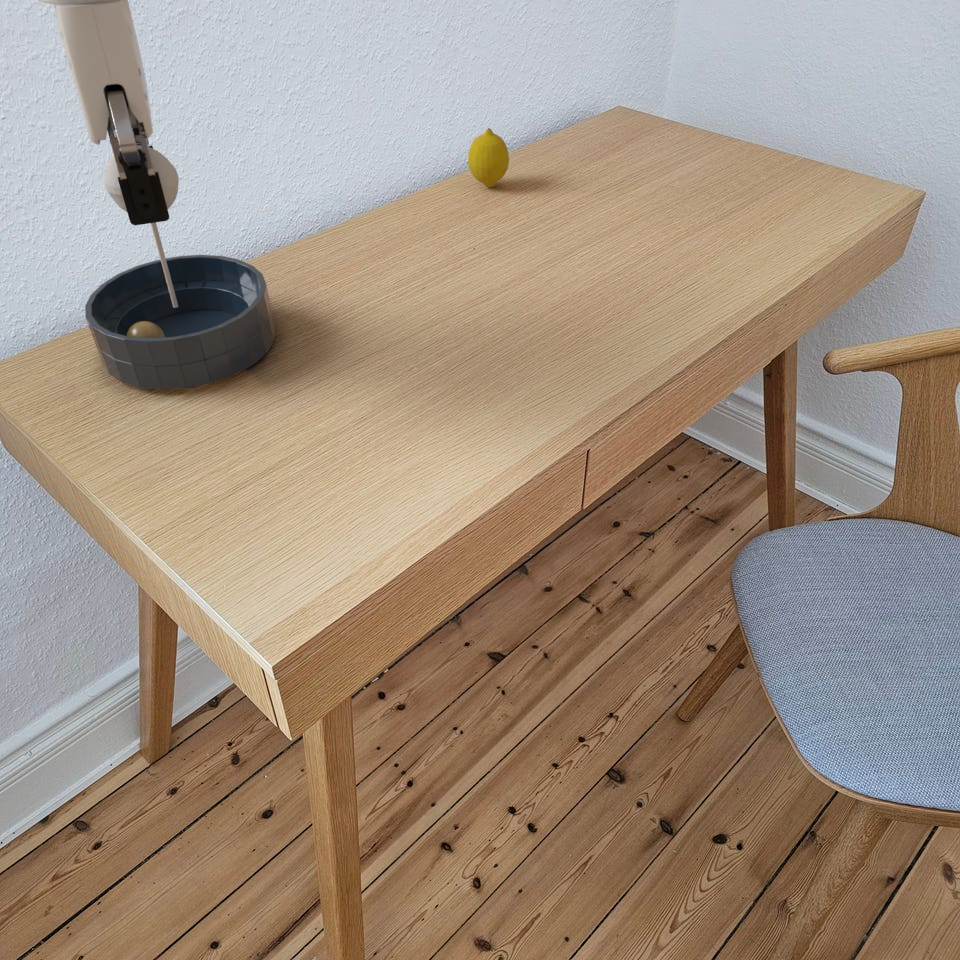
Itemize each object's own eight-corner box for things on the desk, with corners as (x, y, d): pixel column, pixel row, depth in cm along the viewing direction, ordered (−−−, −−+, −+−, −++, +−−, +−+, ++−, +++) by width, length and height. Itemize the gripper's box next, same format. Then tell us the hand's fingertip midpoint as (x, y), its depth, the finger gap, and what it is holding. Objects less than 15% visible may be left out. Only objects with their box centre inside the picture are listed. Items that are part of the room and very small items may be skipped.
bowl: (107, 411, 79) (86, 356, 75) (101, 322, 91) (83, 271, 88) (290, 372, 84) (279, 319, 80) (261, 293, 96) (251, 243, 92)
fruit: (460, 186, 118) (458, 127, 113) (491, 176, 120) (491, 118, 115) (485, 198, 115) (485, 138, 109) (517, 188, 117) (517, 128, 112)
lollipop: (184, 285, 84) (144, 130, 75) (221, 303, 82) (184, 144, 72) (129, 309, 81) (80, 149, 71) (166, 329, 78) (120, 165, 68)
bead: (149, 367, 86) (123, 358, 83) (140, 337, 87) (114, 327, 83) (177, 351, 85) (152, 341, 82) (167, 320, 86) (142, 309, 82)
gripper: (34, -43, 68) (101, 179, 80) (25, -1, 56) (106, 254, 68) (131, -49, 70) (182, 168, 82) (144, -10, 58) (202, 239, 70)
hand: (147, 205), depth 75 cm, fingers closed on lollipop, 6 cm apart
